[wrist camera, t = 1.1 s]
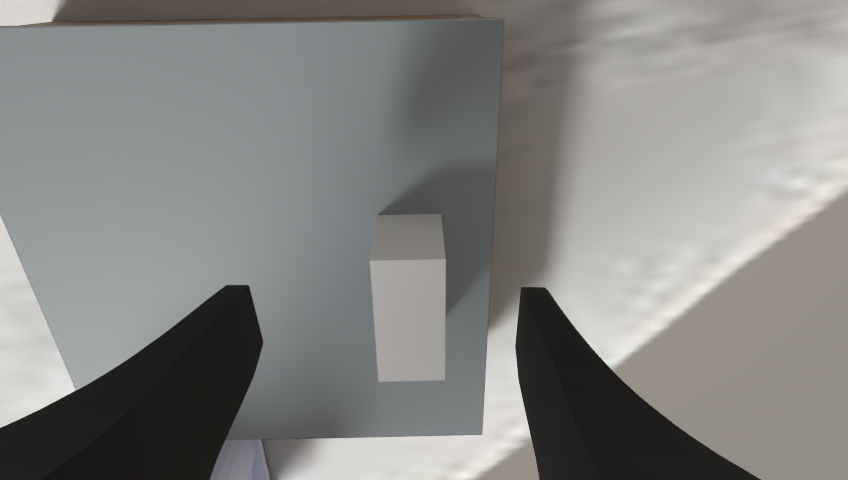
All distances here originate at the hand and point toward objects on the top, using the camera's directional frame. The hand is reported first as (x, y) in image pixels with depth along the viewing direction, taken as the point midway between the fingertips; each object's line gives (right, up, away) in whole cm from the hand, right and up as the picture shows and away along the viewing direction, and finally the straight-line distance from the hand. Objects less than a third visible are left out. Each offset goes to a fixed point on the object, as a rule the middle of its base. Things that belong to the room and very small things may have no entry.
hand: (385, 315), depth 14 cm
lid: (-5, +1, +7) cm, 9 cm away
